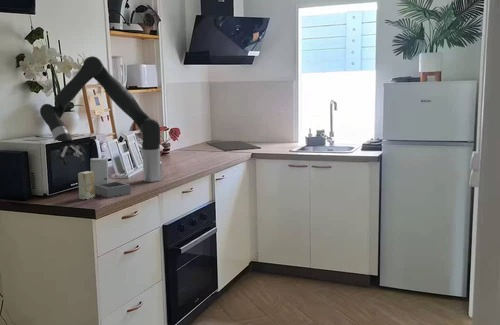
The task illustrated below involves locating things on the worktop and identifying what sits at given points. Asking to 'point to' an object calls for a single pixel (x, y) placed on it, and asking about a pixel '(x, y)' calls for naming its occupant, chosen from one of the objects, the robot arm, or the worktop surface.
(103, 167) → the skincare box
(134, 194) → the worktop surface
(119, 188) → the tray
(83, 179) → the skincare box
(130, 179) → the worktop surface
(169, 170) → the worktop surface
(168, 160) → the worktop surface
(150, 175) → the robot arm
